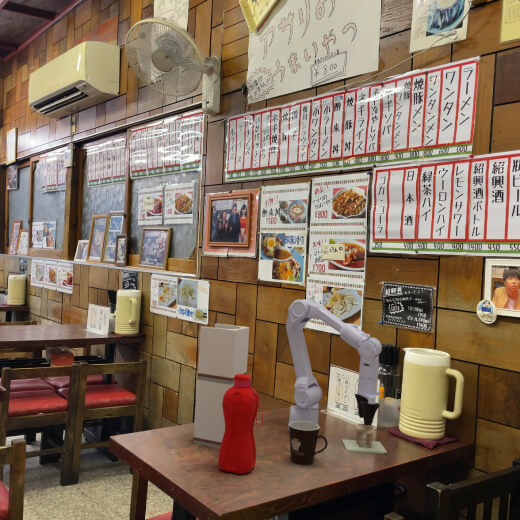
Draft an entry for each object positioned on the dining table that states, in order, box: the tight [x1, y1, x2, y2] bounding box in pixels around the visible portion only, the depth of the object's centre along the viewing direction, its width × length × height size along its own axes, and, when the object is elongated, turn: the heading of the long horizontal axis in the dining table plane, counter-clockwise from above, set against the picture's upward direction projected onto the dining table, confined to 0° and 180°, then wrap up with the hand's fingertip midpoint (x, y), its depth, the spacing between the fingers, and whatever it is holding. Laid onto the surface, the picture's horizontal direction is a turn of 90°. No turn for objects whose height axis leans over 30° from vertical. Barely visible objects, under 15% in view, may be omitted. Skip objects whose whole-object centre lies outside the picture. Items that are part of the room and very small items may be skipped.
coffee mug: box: [288, 421, 329, 466], centre depth 152 cm, size 12×9×10 cm
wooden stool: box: [355, 423, 375, 448], centre depth 168 cm, size 5×5×6 cm
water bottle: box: [218, 374, 264, 475], centre depth 144 cm, size 9×11×25 cm
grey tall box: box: [192, 323, 250, 450], centre depth 164 cm, size 11×11×35 cm
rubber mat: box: [341, 439, 388, 454], centre depth 168 cm, size 12×9×1 cm
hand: (365, 421), depth 168 cm, fingers open, 7 cm apart
